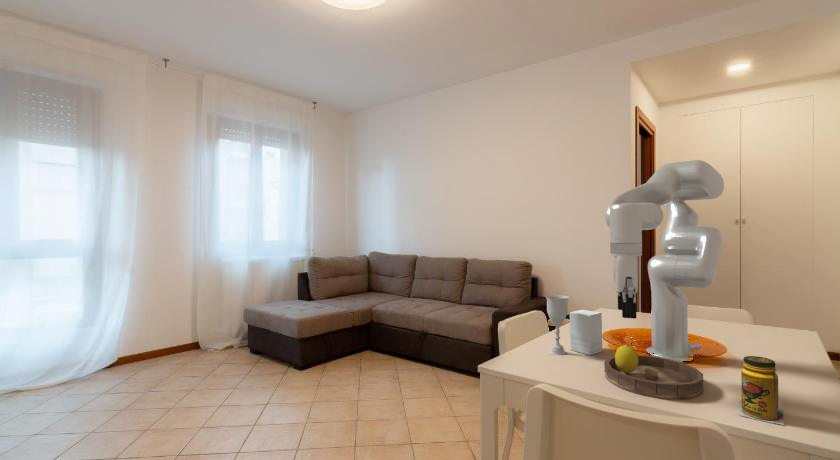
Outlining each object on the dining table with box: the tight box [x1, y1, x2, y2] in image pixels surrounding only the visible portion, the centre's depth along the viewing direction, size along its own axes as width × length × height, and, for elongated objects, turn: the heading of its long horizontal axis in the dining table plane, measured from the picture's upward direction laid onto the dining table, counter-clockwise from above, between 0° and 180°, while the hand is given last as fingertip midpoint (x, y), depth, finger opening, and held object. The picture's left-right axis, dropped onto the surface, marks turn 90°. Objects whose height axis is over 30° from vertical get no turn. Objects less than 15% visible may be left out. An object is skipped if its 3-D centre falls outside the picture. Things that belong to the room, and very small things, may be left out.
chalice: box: [544, 294, 570, 356], centre depth 129 cm, size 7×7×18 cm
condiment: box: [738, 355, 785, 426], centre depth 86 cm, size 7×8×12 cm
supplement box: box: [569, 309, 603, 356], centre depth 131 cm, size 7×7×13 cm
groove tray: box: [603, 354, 704, 401], centre depth 105 cm, size 22×22×4 cm
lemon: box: [614, 344, 638, 374], centre depth 107 cm, size 6×6×8 cm
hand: (626, 313), depth 107 cm, fingers open, 9 cm apart
